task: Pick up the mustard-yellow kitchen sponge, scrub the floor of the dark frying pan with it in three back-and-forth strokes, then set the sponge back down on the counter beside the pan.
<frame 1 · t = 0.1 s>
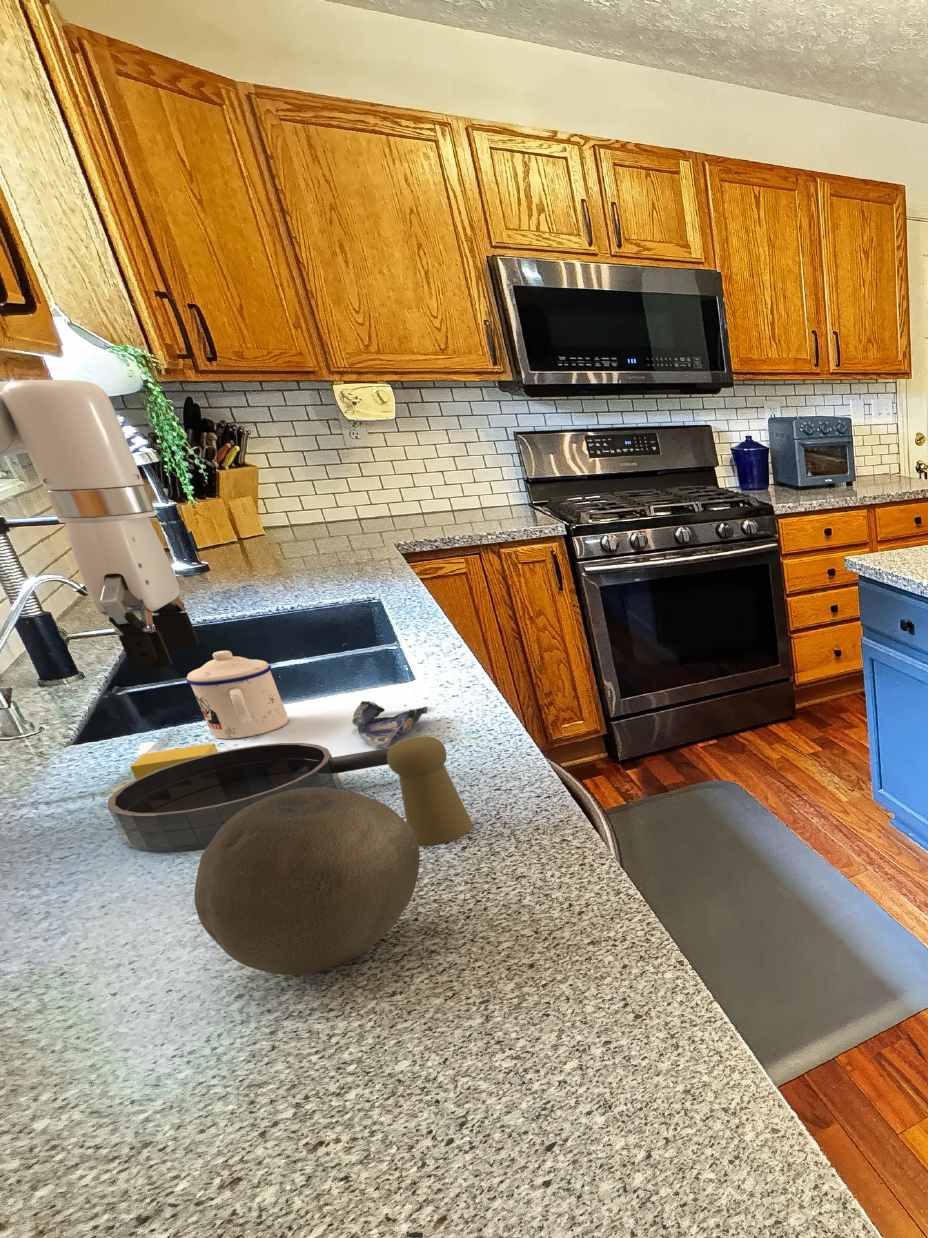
hand: (168, 656, 94), 17 cm above the countertop, tool pointing down, fingers open, 9 cm apart
cork: (441, 833, 89), on the countertop
snack package: (392, 736, 115), on the countertop
teacup with lid: (252, 732, 117), on the countertop
cantaloupe: (345, 955, 70), on the countertop
pan handle: (385, 756, 99), point 3 cm above the countertop
pan: (240, 810, 94), on the countertop
sponge: (183, 775, 103), on the countertop
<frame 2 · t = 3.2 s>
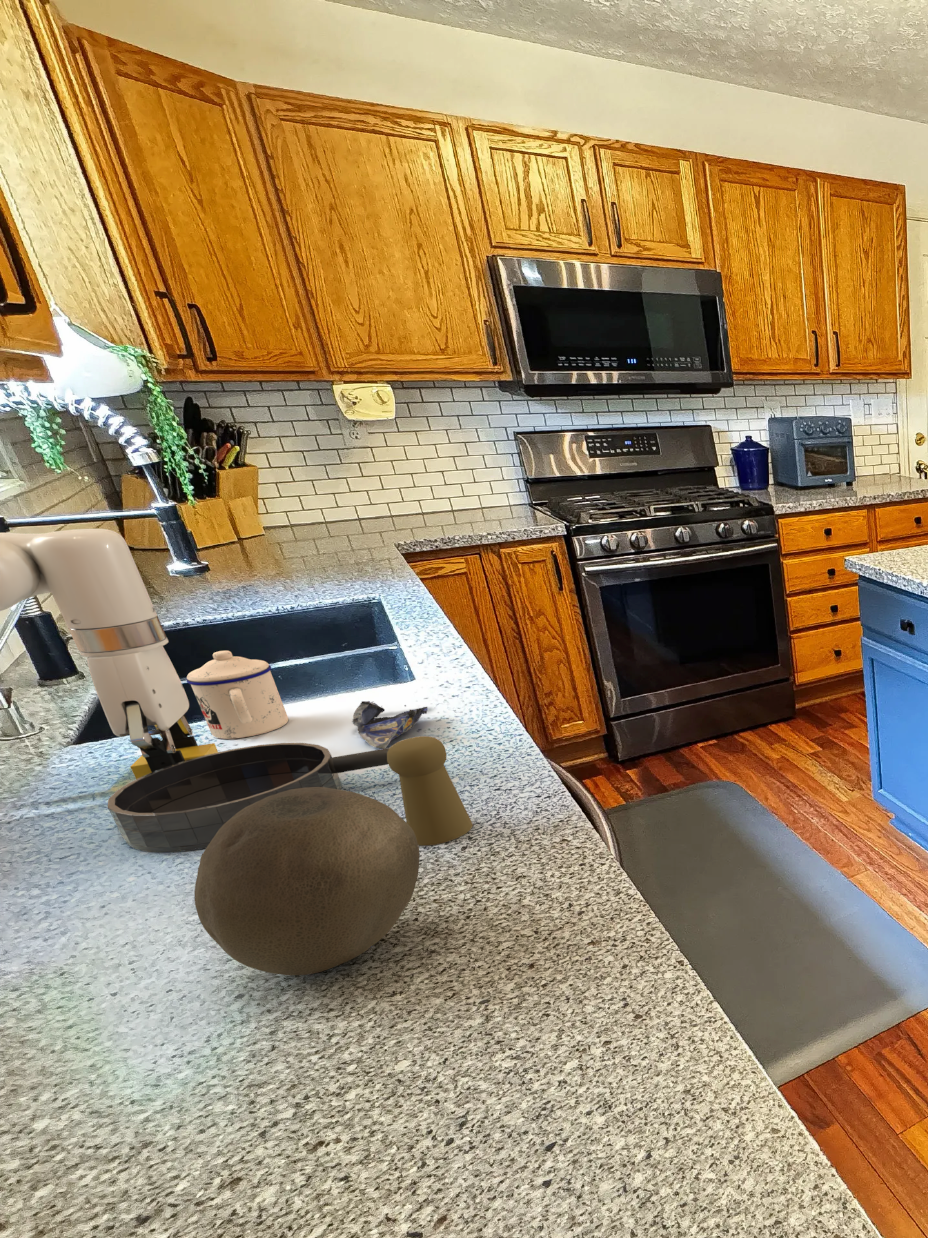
hand: (181, 773, 103), 0 cm above the countertop, tool pointing down, fingers closed on sponge, 4 cm apart
sponge: (183, 775, 103), on the countertop, touching gripper
everything else where it was.
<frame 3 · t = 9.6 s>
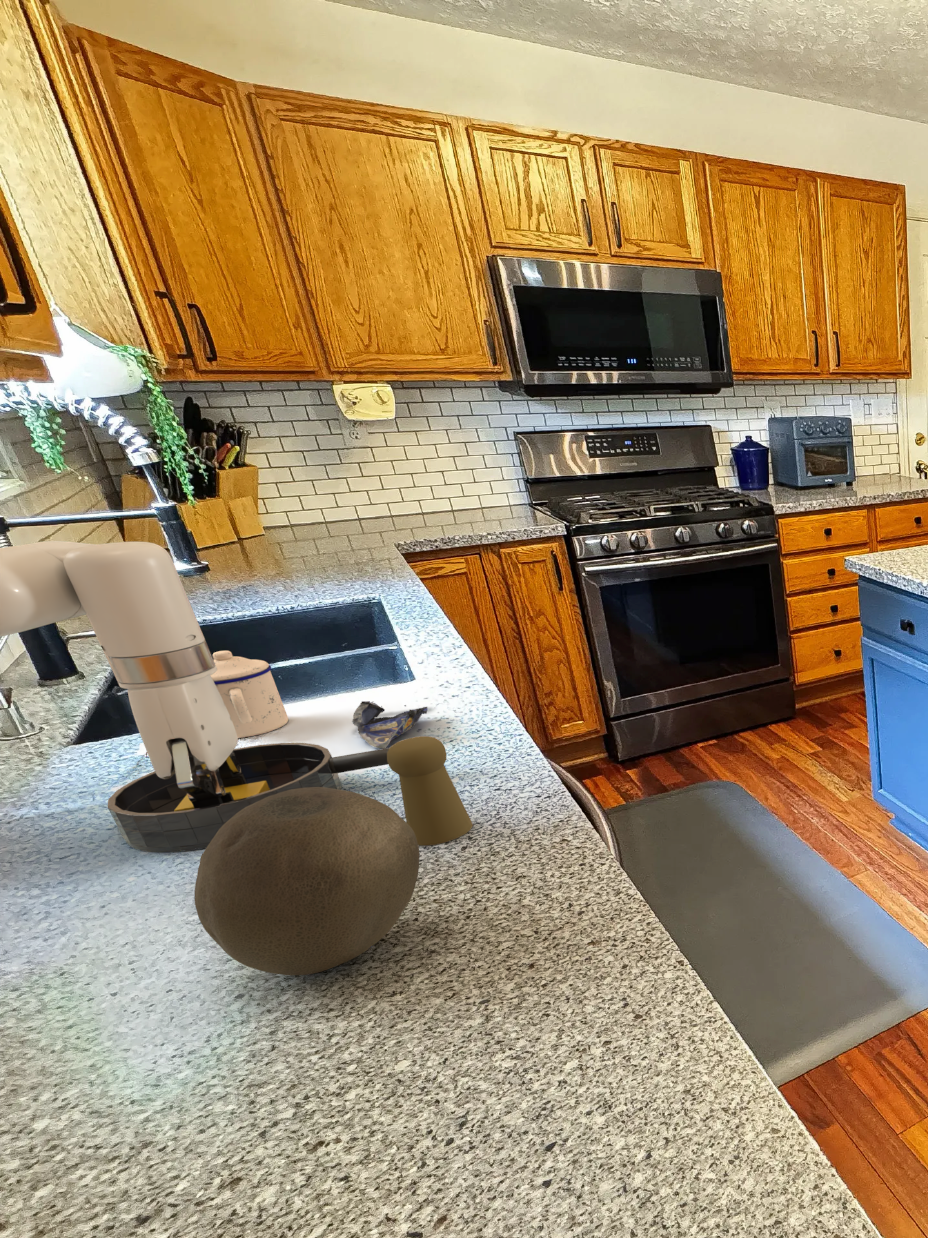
hand: (230, 816, 91), 1 cm above the countertop, tool pointing down, fingers closed on sponge, 4 cm apart
sponge: (231, 818, 91), point 1 cm above the countertop, touching gripper
everything else where it was.
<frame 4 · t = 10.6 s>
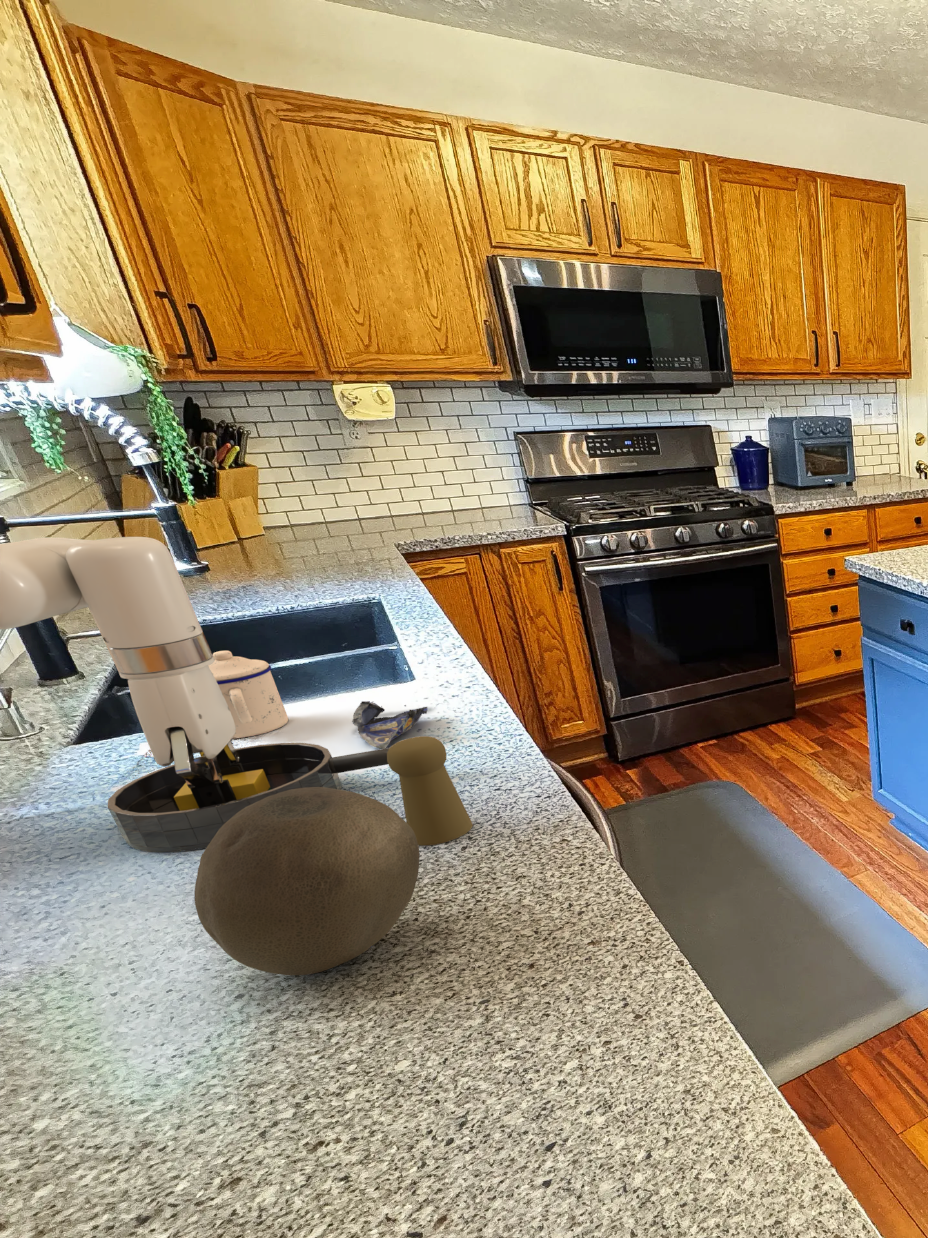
hand: (228, 803, 94), 1 cm above the countertop, tool pointing down, fingers closed on sponge, 4 cm apart
sponge: (229, 805, 94), point 1 cm above the countertop, touching gripper
everything else where it was.
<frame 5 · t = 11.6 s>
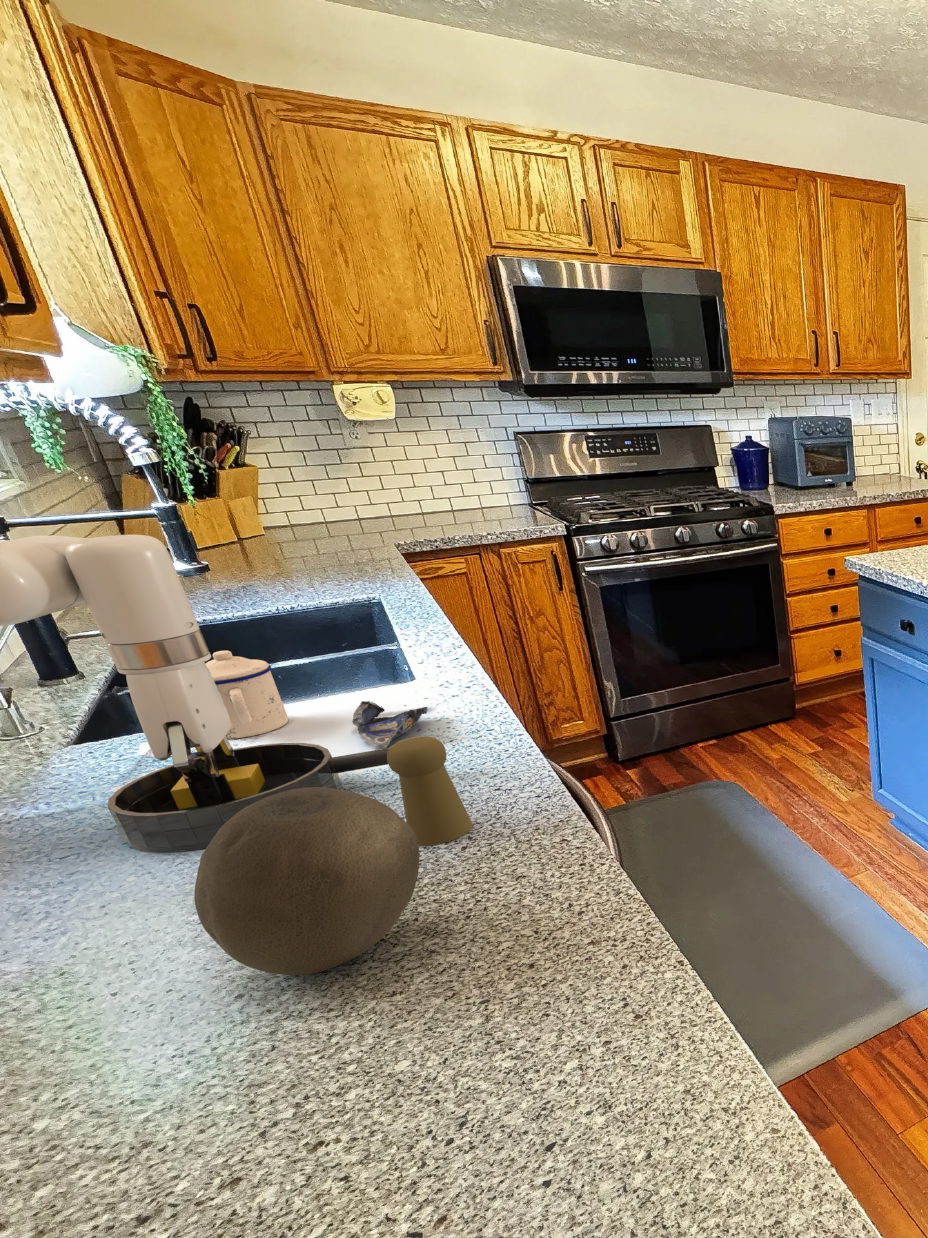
hand: (224, 797, 95), 1 cm above the countertop, tool pointing down, fingers closed on sponge, 4 cm apart
sponge: (225, 799, 95), point 1 cm above the countertop, touching gripper
everything else where it was.
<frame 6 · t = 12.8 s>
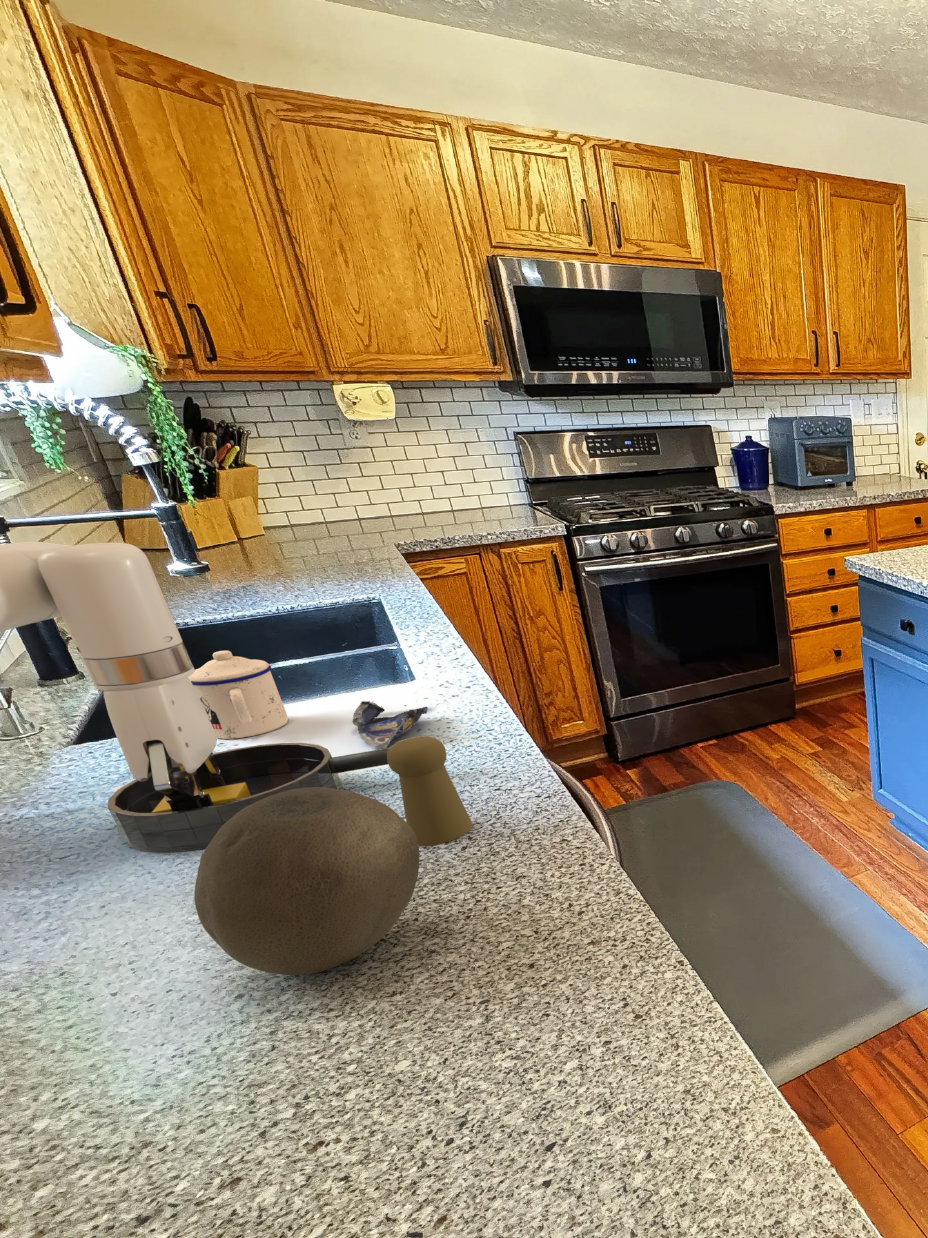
hand: (209, 818, 91), 1 cm above the countertop, tool pointing down, fingers closed on sponge, 4 cm apart
sponge: (210, 820, 91), point 1 cm above the countertop, touching gripper
everything else where it was.
when the fingers open (0 cm above the countertop, at t = 19.5 s): sponge stays where it is, on the countertop.
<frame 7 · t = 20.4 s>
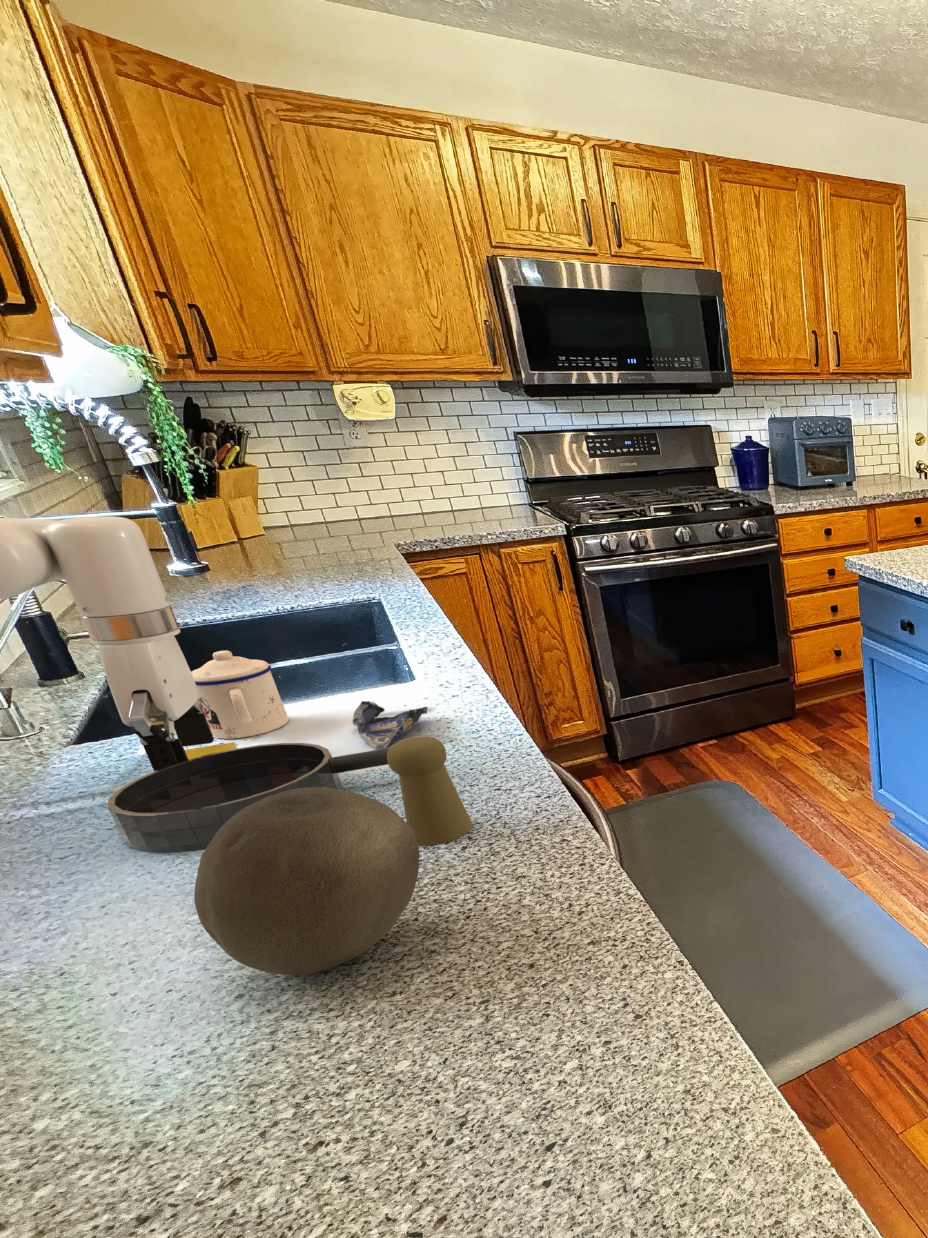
hand: (186, 757, 102), 3 cm above the countertop, tool pointing down, fingers open, 9 cm apart
sponge: (203, 774, 103), on the countertop
everything else where it was.
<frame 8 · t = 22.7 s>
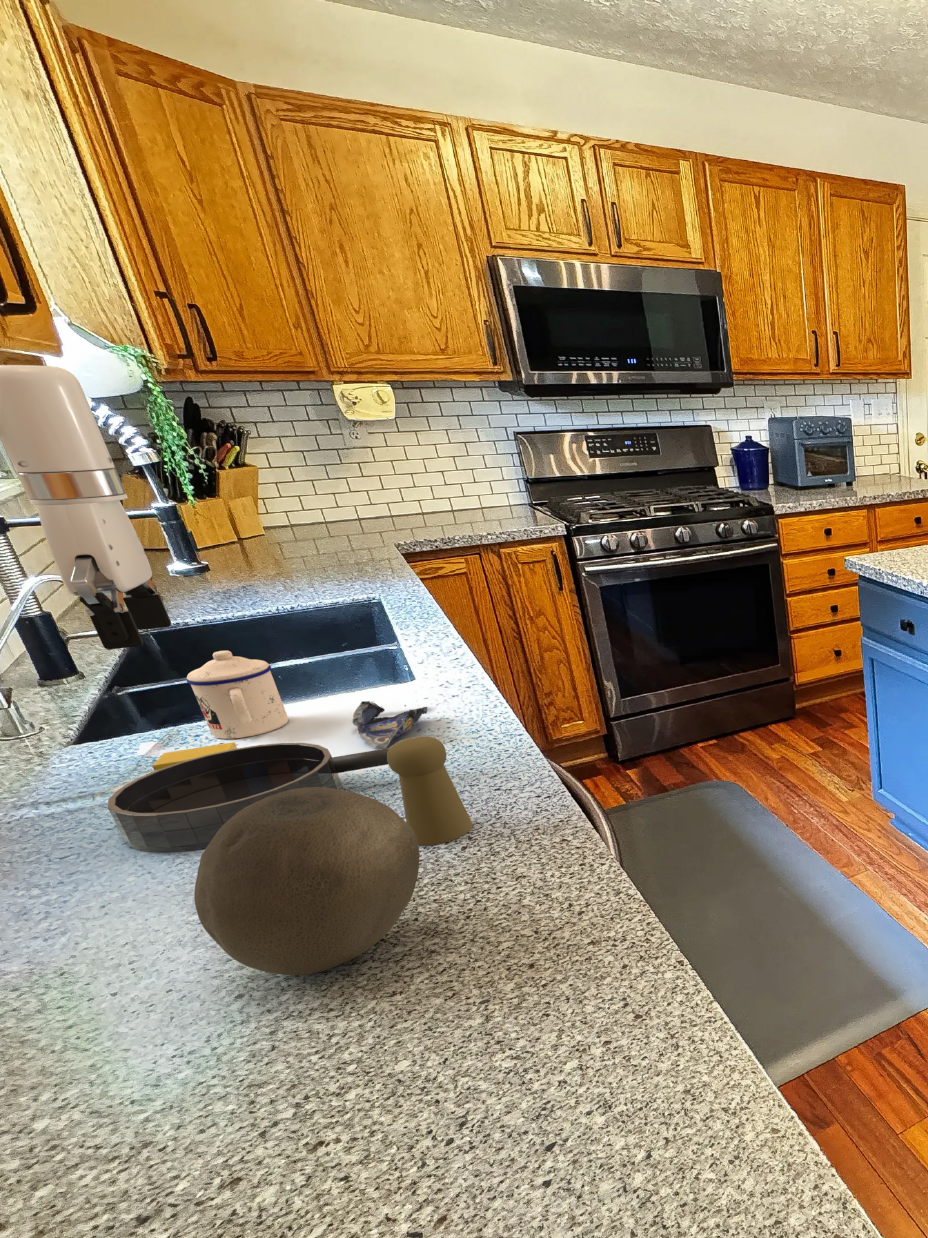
hand: (140, 637, 96), 18 cm above the countertop, tool pointing down, fingers open, 9 cm apart
nothing on the countertop moved.
at the end: sponge inside the target area (0.3 cm from its centre), on the countertop; the gripper is holding nothing; sponge tilted 0° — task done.
